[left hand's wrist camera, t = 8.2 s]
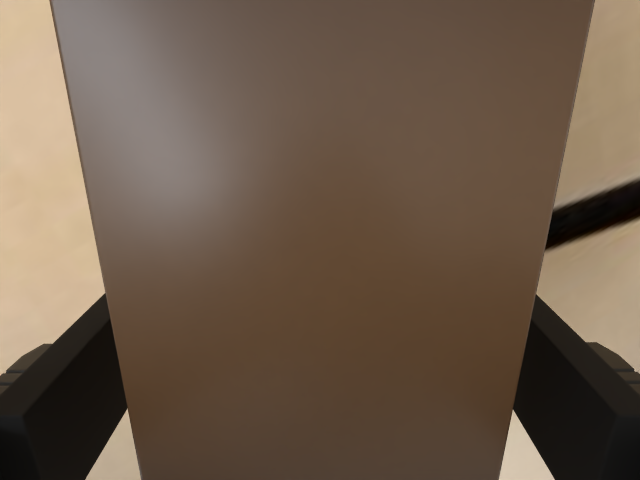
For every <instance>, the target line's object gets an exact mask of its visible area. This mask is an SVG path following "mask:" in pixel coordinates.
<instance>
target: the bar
mask: <svg viewBox="0 0 640 480" xmlns="http://www.w3.org/2000/svg"><path fill="white" fill-rule="evenodd" d="M594 2H595V0H50V5H51V11H52V16H53V21H54V26H55V32H56V37H57V42H58V47H59V52H60V58H61V63H62V68H63V73H64V79H65V84H66V89H67V94H68V99H69V105H70V110H71V115H72V120H73V125H74V131H75V136H76V141H77V146H78V152H79V157H80V162H81V167H82V172H83V178H84V183H85V188H86V193H87V198H88V204H89V209H90V214H91V219H92V225H93V230H94V235H95V240H96V245H97V251H98V256H99V261H100V266H101V271H102V277H103V282H104V287H105V292H106V298H107V303H108V308H109V313H110V318H111V324H112V329H113V334H114V339H115V344H116V350H117V355H118V360H119V365H120V371H121V376H122V381H123V386H124V391H125V397H126V402H127V407H128V412H129V417H130V423H131V428H132V433H133V438H134V444H135V449H136V454H137V459H138V464H139V470H140V475H141V480H499V475H500V470H501V465H502V460H503V455H504V450H505V445H506V440H507V435H508V430H509V425H510V420H511V415H512V410H513V405H514V401H515V396H516V391H517V386H518V381H519V376H520V371H521V366H522V361H523V356H524V351H525V346H526V341H527V336H528V331H529V326H530V321H531V316H532V311H533V306H534V301H535V296H536V291H537V286H538V281H539V276H540V271H541V266H542V261H543V256H544V251H545V246H546V241H547V236H548V231H549V226H550V221H551V216H552V211H553V206H554V201H555V196H556V191H557V186H558V181H559V176H560V171H561V166H562V161H563V156H564V151H565V146H566V141H567V137H568V132H569V127H570V122H571V117H572V112H573V107H574V102H575V97H576V92H577V87H578V82H579V77H580V72H581V67H582V62H583V57H584V52H585V47H586V42H587V37H588V32H589V27H590V22H591V17H592V12H593V7H594Z"/></svg>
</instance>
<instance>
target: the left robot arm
mask: <svg viewBox="0 0 640 480" xmlns="http://www.w3.org/2000/svg"><path fill="white" fill-rule="evenodd" d="M127 408H128V407H127V402H126V397H125V391H124V386H123V381H122V376H121V371H120V365H119V360H118V355H117V350H116V344H115V339H114V334H113V329H112V324H111V318H110V313H109V308H108V303H107V298H106V293H105V294H104V295H103V296H102V297H101V298H100V299H99V300H98V301H97V302H96V303H94V304H93V305H92V306H91V307H90V308H89V309H88V310H87V311H86V312H85V313H84V314H83V315H82V316H81V317H80V318H79V319H78V320H77V321H76V322H75V323H74V324H73V325H72V326H71V327H70V328H69V329H68V330H67V331H66V332H65V333H63V334H62V335H61V336H60V337H59V338H58V339H57V340H56V341H55V342H54V343H53V344H43V345H41V346H39V347H37V348H36V349H34V350H32V351H30V352H29V353H27V354H25V355H23V356H22V357H21V358H20V359H18V360H17V361H16V362H15V363H14V364H13V365H12V366H11V367H10V368H9V369H8V370H6V373H3V374H2V375H1V376H0V480H85V479H86V477H87V475H88V474H89V472H90V470H91V469H92V467H93V465H94V464H95V462H96V460H97V459H98V457H99V455H100V454H101V452H102V450H103V449H104V447H105V445H106V443H107V442H108V440H109V438H110V437H111V435H112V433H113V432H114V430H115V428H116V427H117V425H118V423H119V422H120V420H121V418H122V417H123V415H124V413H125V412H126V410H127ZM513 410H514V412H515V413H516V415H517V417H518V418H519V420H520V422H521V423H522V425H523V427H524V428H525V430H526V432H527V433H528V435H529V437H530V438H531V440H532V442H533V443H534V445H535V447H536V449H537V450H538V452H539V454H540V455H541V457H542V459H543V460H544V462H545V464H546V465H547V467H548V469H549V470H550V472H551V474H552V475H553V477H554V479H555V480H640V374H639V373H638V372H634V368H632V367H631V366H630V365H629V364H628V363H627V362H626V361H625V360H624V359H622V358H621V357H620V356H619V355H618V354H616V353H614V352H613V351H611V350H609V349H607V348H605V347H604V346H602V345H600V344H598V343H597V342H585V341H584V340H583V339H582V338H581V337H580V336H579V335H578V334H577V333H575V332H574V331H573V330H572V329H571V328H570V327H569V326H568V325H567V324H566V323H565V322H564V321H563V320H562V319H561V318H560V317H559V316H558V315H557V314H556V313H555V312H554V311H553V310H552V309H551V308H550V307H549V306H548V305H547V304H546V303H545V302H543V301H542V300H541V299H540V298H539V297H538V296H537V295H536V296H535V301H534V306H533V311H532V316H531V321H530V326H529V331H528V336H527V341H526V346H525V351H524V356H523V361H522V366H521V371H520V376H519V381H518V386H517V391H516V396H515V401H514V405H513Z"/></svg>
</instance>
